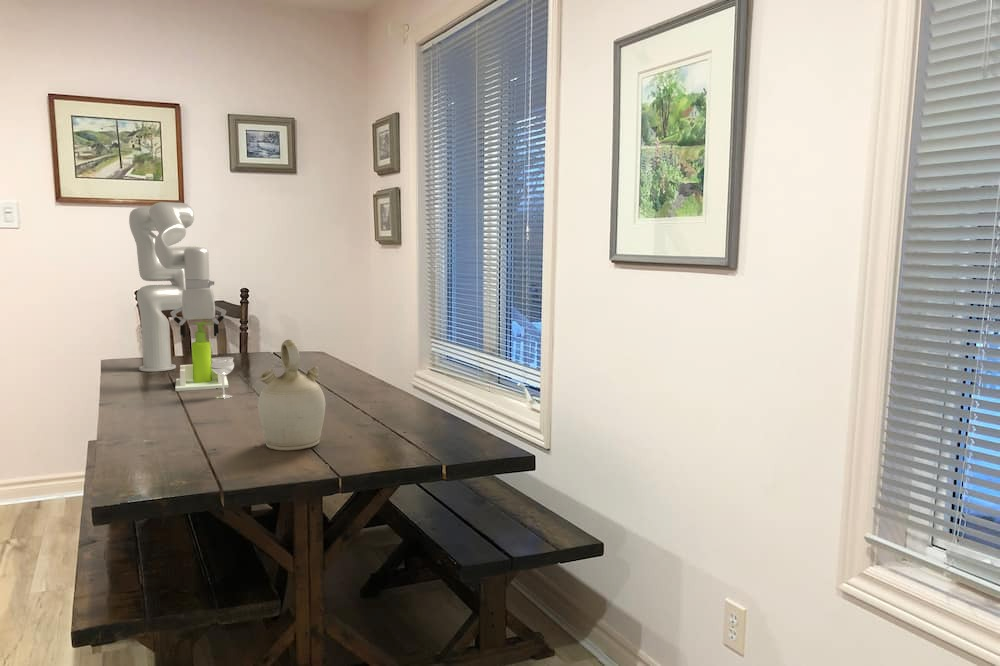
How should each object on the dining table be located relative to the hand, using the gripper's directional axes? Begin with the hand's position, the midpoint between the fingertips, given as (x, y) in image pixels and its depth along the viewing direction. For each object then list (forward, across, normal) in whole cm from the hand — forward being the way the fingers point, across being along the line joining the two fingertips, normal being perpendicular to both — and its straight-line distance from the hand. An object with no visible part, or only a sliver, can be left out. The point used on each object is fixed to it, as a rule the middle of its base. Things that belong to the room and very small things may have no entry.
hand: (199, 336), depth 248 cm
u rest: (+16, 0, 0) cm, 16 cm away
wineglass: (+16, -6, +24) cm, 30 cm away
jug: (+16, -19, +88) cm, 92 cm away
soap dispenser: (+16, -1, 0) cm, 16 cm away
